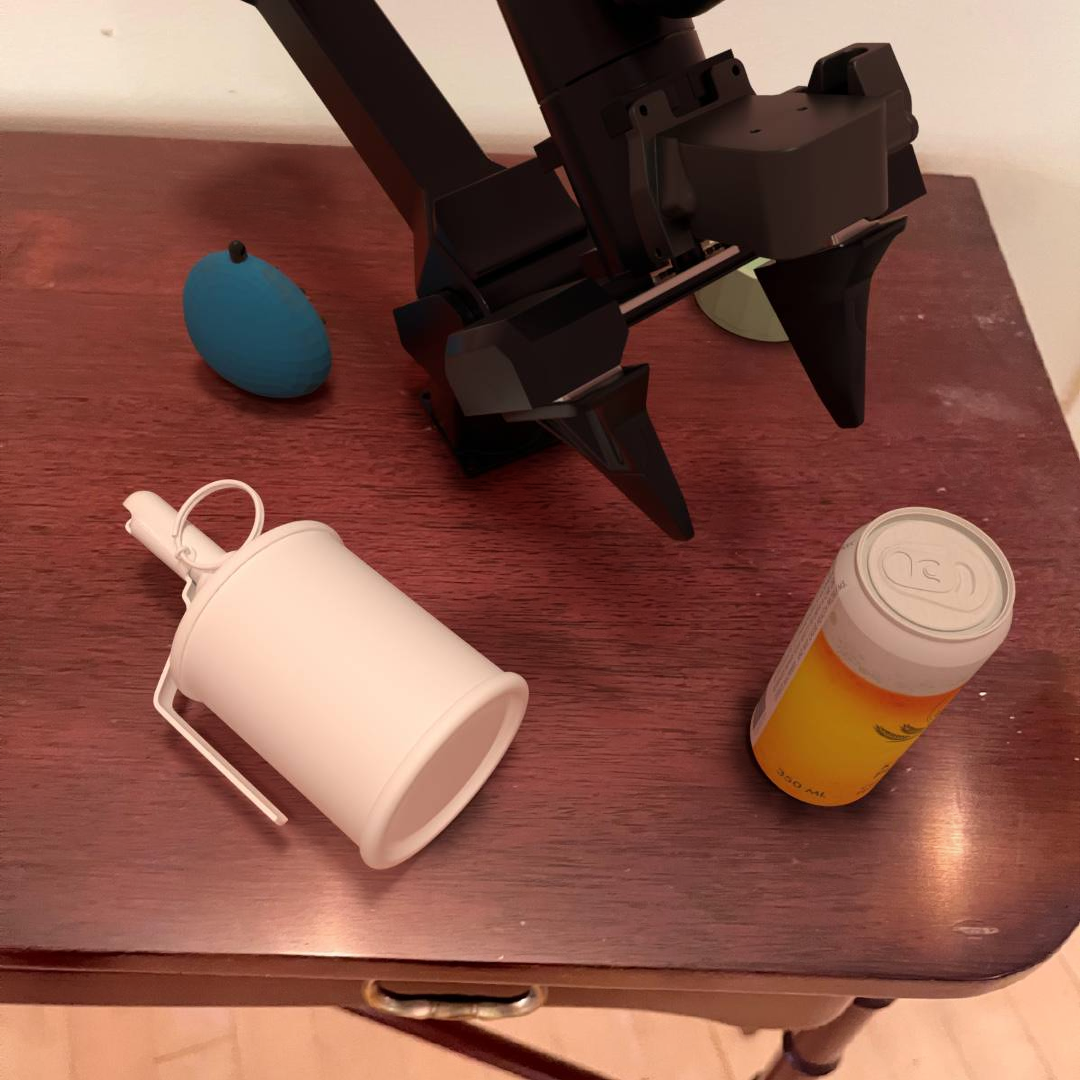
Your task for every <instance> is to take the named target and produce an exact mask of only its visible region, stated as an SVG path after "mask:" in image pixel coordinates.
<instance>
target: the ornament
mask: <svg viewBox="0 0 1080 1080" xmlns="http://www.w3.org/2000/svg"><path fill="white" fill-rule="evenodd" d="M182 290H183V291H182V308H183V309H182V311H183V318H184V323H185V327H186V330H187V334H188V336H189V339H190V340H191V343H192V345H193V347H194V349H195V350H196V352H197V353H198V354H199V356H201V358H202V359H203V360H204V361H205V363H206V364H207V365H208V366H209V367H210V369H212V370H213V371H215V373H217V374H218V375H219V376H220V377H222V378H223V379H224V380H226V381H227V382H230V383H231V384H233V386H236V387H237V388H240V389H242V390H244V391H246V392H249V393H251V394H254V395H257V396H262V397H266V398H275V399H292V398H298V397H301V396H305V395H309V394H312V393H313V392H315V391H316V390H317V389H318V388H320V386H321V385H323V384H324V383H325V381H326V380H327V379H328V378H329V375H330V373H331V370H332V363H333V355H332V349H331V348H332V347H331V343H330V337H329V335H328V332H327V329H326V326H325V325H326V324H327V319H325V317H323V316H320V315H319V312H318V311H317V310H316V308H315V307H314V306H313V304H312V303H311V301H310V300H309V298H308V296H306V293H307V291H306V290H305V289H304V288H302V287H298V285H297V284H296V283H295V282H294V281H292V279H290V278H289V277H288V276H287V275H286V274H284V273H283V271H281V270H280V269H279V268H278V267H277V266H274V265H272V264H271V263H269V262H267V261H266V260H264V259H261V258H260V257H257V256H255V255H253V254H250V253H249V252H247V248H246V246H245V243H244V242H242V241H241V240H238V239H234V240H231V241H230V242H229V244H228V248H227V250H221V251H213V252H208V253H207V254H206V255H204V256H203V257H202V258H200V259H198V260H197V261H196V262H195V263H194V264H193V265H192V267H191V268H190V270H189V271H188V273H187V276H186V279H185V283H184V285H183V289H182Z"/></svg>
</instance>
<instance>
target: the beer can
mask: <svg viewBox="0 0 1080 1080" xmlns="http://www.w3.org/2000/svg"><path fill="white" fill-rule="evenodd" d="M1014 576H1015V575H1014V573H1013V569H1012V567H1011V565H1010V563H1009V561H1008V559H1007V557H1006V555H1005V554H1004V553H1003V551H1002V550H1001V548H1000V547H999V546H998V544H997V543H996V542H995V541H994V540H993V539H992V537H990V536H989V535H988V534H987V533H985V532H984V531H983V530H982V529H981V528H979V527H978V526H976V525H975V524H974V523H972V522H970V521H968V520H966V519H964V518H963V517H960V516H959V515H956V514H954V513H950V512H948V511H945V510H941V509H937V508H933V507H925V506H924V507H923V506H909V507H901V508H895V509H893V510H890V511H887V512H885V513H883V514H881V515H879V516H878V517H876V518H875V519H873V520H872V521H869V522H867V523H865V524H864V525H862V526H860V527H858V528H856V530H855V531H853V532H852V533H851V534H850V535H849V536H848V537H847V538H846V540H845V541H844V542H843V544H842V545H841V547H840V549H839V551H838V553H837V554H836V555H835V558H834V560H833V562H832V564H831V565H830V568H829V569H828V572H827V573H826V575H825V576H824V579H823V580H822V582H821V584H820V586H819V588H818V590H817V592H816V594H815V596H814V597H813V599H812V602H811V603H810V604H809V607H808V609H807V611H806V612H805V615H804V617H803V618H802V620H801V622H800V624H799V626H798V628H797V629H796V631H795V633H794V635H793V637H792V639H791V640H790V643H789V645H788V646H787V648H786V650H785V652H784V653H783V656H782V657H781V659H780V661H779V663H778V665H777V667H776V669H775V670H774V672H773V674H772V676H771V678H770V680H769V682H768V683H767V686H766V687H765V689H764V691H763V693H762V694H761V697H760V698H759V700H758V702H757V704H756V706H755V708H754V711H753V713H752V716H751V720H750V726H749V728H750V729H749V736H750V744H751V747H752V751H753V754H754V756H755V759H756V761H757V763H758V765H759V766H760V768H761V770H762V771H763V772H764V774H765V775H766V776H767V778H769V780H771V782H772V783H773V784H775V785H776V786H777V788H779V789H780V790H782V791H783V792H785V793H786V794H787V795H789V796H791V797H793V798H794V799H797V800H799V801H802V802H805V803H808V804H811V805H816V806H823V807H837V806H844V805H848V804H850V803H853V802H855V801H858V800H859V799H861V798H863V797H865V795H866V796H867V794H868V793H870V791H872V790H873V788H875V786H876V785H877V784H878V783H879V782H880V780H882V778H883V777H884V776H885V775H886V774H887V773H888V772H889V771H890V769H891V768H892V767H893V766H894V765H895V764H896V763H897V762H898V760H899V759H900V758H901V757H903V755H904V754H905V753H906V752H907V750H908V749H909V748H910V747H911V746H912V745H913V744H914V743H915V741H916V740H917V739H919V738H920V736H921V735H922V734H923V732H924V731H925V730H926V729H927V728H928V727H929V726H930V725H931V724H932V722H933V721H934V720H935V719H936V718H937V717H938V716H939V714H941V713H942V711H943V710H944V709H945V708H946V707H947V705H949V703H950V702H951V701H952V700H953V699H954V698H955V697H956V696H957V695H958V693H959V692H960V691H961V690H962V689H963V688H964V687H965V686H966V684H967V683H968V682H969V681H970V680H971V678H972V677H974V676H975V674H976V673H977V672H978V671H979V670H980V668H981V667H983V665H984V664H985V663H986V662H987V661H988V660H989V659H990V657H991V656H992V655H993V654H994V653H995V652H996V651H997V649H999V647H1000V646H1001V645H1002V644H1003V642H1004V641H1005V639H1006V638H1007V636H1008V634H1009V632H1010V629H1011V626H1012V622H1013V615H1014V607H1013V606H1014V603H1015V599H1016V598H1015V597H1016V581H1015V577H1014Z"/></svg>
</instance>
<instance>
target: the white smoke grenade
mask: <svg viewBox="0 0 1080 1080" xmlns="http://www.w3.org/2000/svg"><path fill="white" fill-rule="evenodd" d="M227 488H234V489H235V488H236V489H241V490H243V491H245V492H247V493H248V494H249V495H250V497H251V499H252V501H253V503H254V508H255V517H254V518H255V519H254V522H253V526H252V529H251V531H250V534H249V535H248V537H247V538H246V540H245V542H244V543H243V544H242V545H241V546H240V548H239V549H238V550H237V549H235V550H231V551H228V552H226V551H225V550H224V549H223V548H222V547H221V546H219V544H217V543H216V542H214V540H213V539H211V538H210V537H208V536H207V535H206V534H205V533H204V532H203V531H202V530H200V529H199V528H198V527H197V526H195V524H193V523H192V522H190V520H188V519H187V518H188V517H189V514H190V513H191V512H192V510H193V509H194V508H195V507H196V506H197V504H198V503H200V502H201V501H202V500H203V499H205V498H206V497H207V496H209V495H210V494H213V493H215V492H217V491H219V490H221V489H227ZM122 506H123V507H125V508H126V510H128V511H129V513H130V514H131V517H130V518H129V519H128V520H127V522H126V523H125V526H124V527H125V530H126V531H127V533H128V534H130V535H131V536H132V537H134V538H135V539H136V540H137V541H138V542H140V543H141V544H142V545H144V547H145V548H146V549H147V550H148V551H150V552H151V553H152V554H153V555H154V556H155V557H157V558H158V559H159V560H160V561H162V562H163V563H164V564H165V565H166V566H168V568H170V569H171V570H172V571H174V573H175V574H177V576H179V577H180V578H181V579H182V580H183V581H185V582H186V584H185V586H184V587H183V588H184V589H183V590H182V592H181V593H182V594H181V598H182V600H183V602H184V603H185V606H186V610H185V612H184V615H183V616H182V617H181V620H180V622H179V624H178V626H177V629H176V631H175V634H174V637H173V640H172V644H171V649H170V653H169V655H168V658H167V660H166V663H165V665H164V667H163V670H162V673H161V675H160V677H159V680H158V683H157V686H156V689H155V691H154V695H153V699H152V700H153V701H152V702H153V706H154V708H155V709H156V710H157V712H158V713H159V714H160V715H161V716H162V717H163V718H164V719H165V720H166V721H167V722H168V723H169V724H170V725H171V726H172V727H173V728H174V729H175V730H176V731H177V732H178V733H179V734H180V735H181V736H182V737H183V738H184V739H186V740H187V741H188V742H189V743H190V744H191V745H192V747H194V748H195V749H196V750H197V751H198V752H199V753H200V754H201V755H202V756H203V757H205V758H206V760H207V761H209V762H210V763H211V764H212V765H213V766H214V767H215V768H216V769H217V770H218V771H219V772H220V773H221V774H223V776H224V777H226V778H227V779H228V780H229V781H230V782H231V783H232V784H233V785H234V786H235V787H236V788H237V789H238V790H239V791H240V792H241V793H242V794H243V795H244V796H246V797H247V798H248V799H249V800H250V801H251V802H252V803H253V804H254V805H255V806H256V807H257V808H258V809H259V810H260V811H261V812H262V813H263V814H264V815H266V817H268V818H269V819H270V820H271V821H272V822H273V823H274V824H275V825H277V826H279V827H281V826H284V825H285V824H286V823H287V822H288V821H289V818H288V817H287V816H286V815H285V814H284V813H283V812H282V811H280V810H279V809H278V808H277V807H276V806H275V805H274V804H273V803H272V802H271V801H270V800H269V799H268V797H266V796H265V795H263V794H262V792H260V791H259V790H258V789H257V788H256V786H254V785H253V784H252V783H251V782H250V781H249V780H248V779H247V778H245V776H243V774H241V773H240V771H238V770H237V769H236V768H235V767H234V766H233V765H232V764H231V763H230V762H229V761H228V760H226V759H225V758H224V756H222V755H221V754H220V753H219V752H218V751H217V750H216V749H214V747H212V745H211V744H209V742H208V741H206V740H205V739H204V738H203V737H202V736H201V735H200V734H199V733H198V732H197V730H195V729H194V728H192V726H190V725H189V723H187V721H185V720H184V719H183V718H182V717H181V716H180V715H179V714H178V713H177V712H176V710H175V709H174V708H173V703H174V699H175V696H176V693H177V690H179V691H180V693H181V694H182V695H184V696H185V697H186V698H188V699H190V700H193V701H195V702H197V703H203V704H204V705H205V706H206V707H207V708H208V709H209V710H210V711H212V712H213V713H214V714H215V715H216V716H217V717H218V718H219V719H220V720H221V721H223V722H224V724H226V725H227V726H228V727H229V728H230V729H231V730H232V731H233V732H235V733H236V735H238V736H239V737H240V738H241V739H242V740H243V741H244V742H246V743H247V744H248V745H249V746H250V747H251V748H252V750H254V751H255V752H256V753H257V754H259V756H260V757H261V758H263V759H264V760H265V761H266V762H267V764H269V765H271V767H272V768H274V769H275V771H277V772H278V773H279V774H280V775H281V776H282V777H283V778H284V779H286V780H287V782H288V783H289V784H290V785H292V786H293V787H294V788H295V789H296V790H297V791H298V792H299V793H301V794H302V795H303V796H304V797H305V798H306V799H307V800H308V801H309V802H310V803H312V804H313V806H315V807H316V808H317V809H318V810H319V811H320V812H321V813H322V814H323V815H324V816H326V818H327V819H329V820H330V822H332V823H333V824H334V825H335V826H336V827H337V828H338V829H339V830H340V831H342V832H343V833H344V835H346V836H347V838H349V839H350V840H351V841H352V842H353V843H354V844H355V845H356V846H357V847H358V848H359V854H360V857H361V859H362V861H363V862H364V864H365V865H367V866H368V867H370V868H371V869H373V870H387V869H390V868H393V867H395V866H398V865H400V864H402V863H403V862H405V861H406V860H408V859H410V858H411V857H413V856H414V855H416V854H417V853H418V852H420V851H421V850H422V849H423V848H425V847H426V846H427V845H429V843H431V842H432V841H433V840H434V839H435V838H436V837H438V835H439V834H441V833H442V832H443V831H444V830H445V829H446V828H447V827H448V826H449V825H450V823H452V821H454V820H455V818H456V817H458V815H459V814H460V813H461V812H462V811H463V810H464V809H465V807H467V805H468V804H469V803H470V802H471V800H472V799H473V798H474V797H475V796H476V795H477V793H478V792H479V791H480V789H481V788H482V787H483V785H484V784H485V783H486V781H487V780H488V779H489V778H490V776H491V775H492V773H493V772H494V770H495V769H496V768H497V766H498V764H499V763H500V762H501V760H502V758H503V757H504V756H505V754H506V752H507V751H508V749H509V747H510V746H511V743H512V742H513V741H514V739H515V736H517V733H518V731H519V729H520V727H521V724H522V721H524V720H523V719H524V716H525V714H526V711H527V707H528V703H529V697H530V696H529V695H530V690H529V685H528V682H527V680H525V678H524V677H523V676H521V675H520V674H518V673H517V672H514V671H504V670H503V669H502V668H500V667H499V666H498V665H496V664H495V663H494V662H492V661H490V659H488V658H487V657H486V656H485V655H483V654H482V653H481V652H479V651H478V650H477V649H475V648H474V647H473V646H472V645H470V644H469V643H468V642H467V641H465V640H464V639H463V638H461V636H459V635H458V634H456V633H455V632H454V631H452V629H451V628H449V627H448V626H446V625H445V624H444V623H442V622H441V621H440V620H439V619H437V618H436V617H435V616H433V615H432V614H431V613H429V611H427V610H425V608H423V607H422V606H421V605H419V604H418V603H417V602H416V601H414V600H413V599H412V598H410V597H409V596H408V595H407V594H405V593H404V592H403V591H402V590H400V588H398V587H396V586H395V585H394V584H393V583H391V581H389V580H387V578H385V577H384V576H383V575H381V574H380V573H379V572H377V571H376V570H375V569H373V567H372V566H370V565H369V564H368V563H366V562H365V561H364V560H362V559H361V558H360V557H359V556H357V555H356V554H355V553H354V552H352V551H351V550H350V549H348V548H347V547H346V546H345V543H344V541H343V539H342V537H341V536H340V534H339V533H338V532H337V531H336V530H335V529H334V528H332V527H331V526H329V525H327V524H326V523H324V522H321V521H317V520H309V519H307V520H305V519H303V520H296V521H291V522H287V523H284V524H282V525H281V524H280V525H278V526H277V527H273V528H272V529H269V530H268V531H265V532H264V533H262V532H263V528H264V526H265V525H264V524H265V507H264V503H263V500H262V499H261V497H260V495H259V494H258V492H256V490H254V489H253V488H252V487H251V486H250V485H248V484H247V483H245V482H243V481H240V480H237V479H219V480H216V481H213V482H210V483H208V484H206V485H204V486H202V487H200V488H199V489H198V490H196V491H195V492H194V493H192V494H191V495H190V496H189V497H188V499H186V501H184V503H183V504H182V506H181V507H180V509H179V510H178V511H177V510H176V509H175V508H174V507H173V506H172V505H171V504H169V503H168V502H167V501H166V500H165V499H163V497H161V496H160V495H158V494H156V493H155V492H153V491H150V490H137V491H135V492H133V493H131V494H130V495H129V496H127V497H126V499H125V500H124V501H123V502H122Z"/></svg>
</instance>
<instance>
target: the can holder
mask: <svg viewBox="0 0 1080 1080" xmlns="http://www.w3.org/2000/svg"><path fill="white" fill-rule="evenodd" d="M713 242H714V241H709V240H706V241H704V242H702V243H701V246H702V248H703V247H705V246H707V245H709V244H711V243H713ZM769 260H771V259H766V258H761V257H759V258H757V259H755V260H754V261H752V262H750V263H748V264H746V265H744V266H743V267H741V268H739V269H737V270H735V271H733V272H732V273H730V274H728V275H726V276H724V277H722V278H720V279H719V280H717V281H715V282H713V283H711V284H709V285H708V286H706V287H704V288H702V289H700V290H698V291H696V292H695V293H693V294H694V297H695V299H696V303H697V304H698V305H699V307H700V310H702V312H703V313H704V314H705V315H706V316H707V317H708V318H709V319H710V320H711V321H713V322H714V323H715V324H717V325H718V326H719V327H721V328H722V329H724V330H726V331H728V332H729V333H732V334H735V335H737V336H739V337H743V338H746V339H750V340H755V341H759V342H760V341H761V342H785V341H786V342H787V341H789V339H788V337H787V335H786V333H785V331H784V329H783V327H782V325H781V323H780V321H779V319H778V317H777V315H776V313H775V312H774V310H773V308H772V306H771V304H770V302H769V300H768V298H767V296H766V295H765V293H764V291H763V289H762V287H761V285H760V283H759V281H758V279H757V277H756V275H755V273H754V270H753V269H754V268H756V267H758V266H760V265H762V264H764V263H765V262H767V261H769Z"/></svg>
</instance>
